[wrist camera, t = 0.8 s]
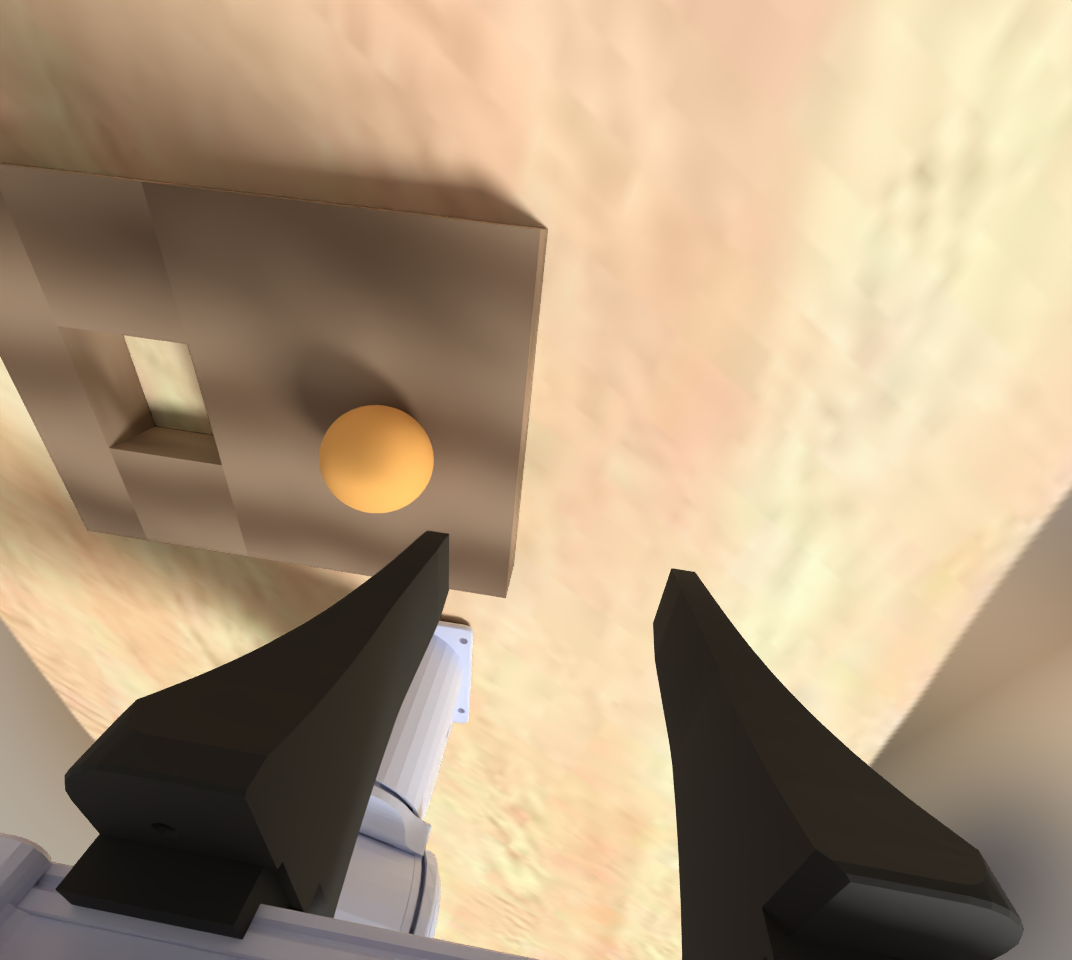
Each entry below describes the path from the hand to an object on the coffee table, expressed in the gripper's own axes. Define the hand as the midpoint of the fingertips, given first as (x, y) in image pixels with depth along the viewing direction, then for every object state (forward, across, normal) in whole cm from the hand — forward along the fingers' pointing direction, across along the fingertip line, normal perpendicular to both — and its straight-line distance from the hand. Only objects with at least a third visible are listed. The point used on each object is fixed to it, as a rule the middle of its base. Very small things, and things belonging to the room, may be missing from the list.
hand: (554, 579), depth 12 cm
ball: (+5, +7, 0) cm, 9 cm away
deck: (+9, +13, 0) cm, 16 cm away
